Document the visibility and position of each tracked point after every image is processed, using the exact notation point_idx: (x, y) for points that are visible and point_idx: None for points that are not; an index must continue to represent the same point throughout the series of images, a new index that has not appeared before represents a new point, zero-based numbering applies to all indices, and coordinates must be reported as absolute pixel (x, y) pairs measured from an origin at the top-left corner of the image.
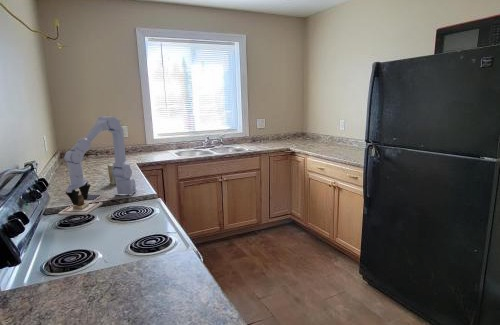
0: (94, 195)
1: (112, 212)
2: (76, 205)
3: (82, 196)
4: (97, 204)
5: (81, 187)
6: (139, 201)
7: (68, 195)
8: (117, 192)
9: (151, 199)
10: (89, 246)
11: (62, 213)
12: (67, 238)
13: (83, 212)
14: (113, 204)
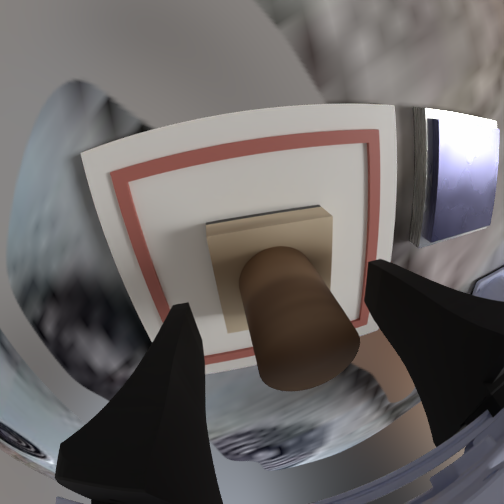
0: (489, 191)
1: (245, 428)
2: (243, 257)
3: (306, 383)
4: None
5: (470, 377)
6: (375, 413)
7: (100, 427)
8: (491, 290)
9: (386, 421)
10: (45, 449)
11: (94, 196)
12: (13, 406)
13: None
14: (356, 373)
